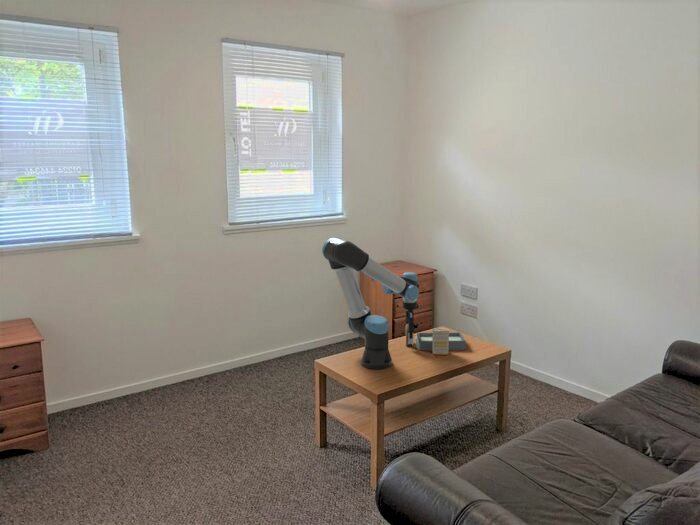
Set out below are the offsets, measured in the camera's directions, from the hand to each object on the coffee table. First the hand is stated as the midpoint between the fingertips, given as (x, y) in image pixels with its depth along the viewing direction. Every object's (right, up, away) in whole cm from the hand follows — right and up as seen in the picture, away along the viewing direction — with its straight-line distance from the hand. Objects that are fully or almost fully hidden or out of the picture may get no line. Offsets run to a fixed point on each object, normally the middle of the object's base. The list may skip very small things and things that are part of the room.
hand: (409, 339), depth 298 cm
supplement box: (+15, -6, -11) cm, 19 cm away
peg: (0, -3, +1) cm, 3 cm away
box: (+17, -3, +1) cm, 17 cm away
